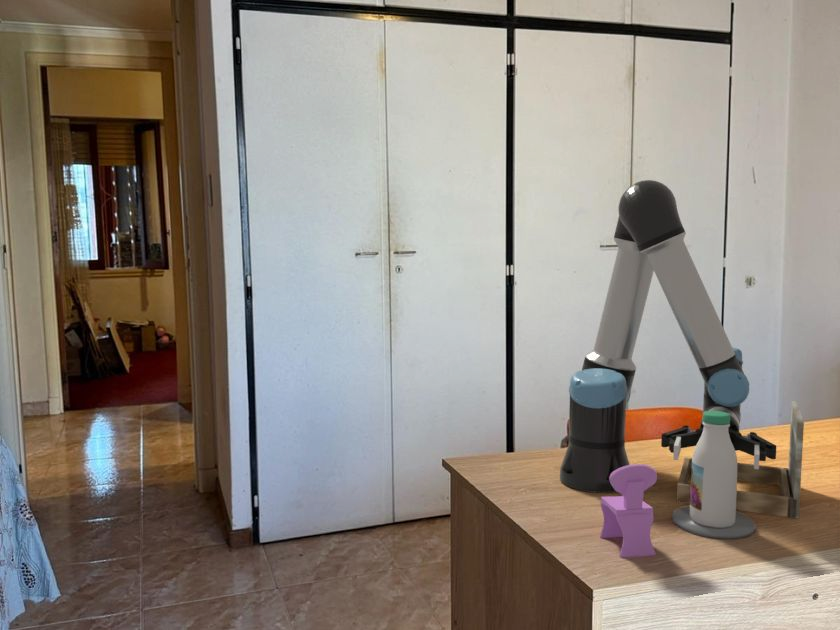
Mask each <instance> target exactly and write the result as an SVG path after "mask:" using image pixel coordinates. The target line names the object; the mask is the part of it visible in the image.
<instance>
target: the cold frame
mask: <svg viewBox="0 0 840 630" xmlns="http://www.w3.org/2000/svg"><path fill="white" fill-rule="evenodd" d="M790 410H791V411H790V412H791V413H790V427H789V428H790V430H789V432H790V433H789V446H788V447H789V450H788V467H777V466H770V465H760V464H759V469H754V463H753V464H752V463H743V462H737V481H744V482H752V483H759V482H760V483H761V484H767V483H768V484H769V485H775V484H777V485H778V486H779V490H780V495H776V494H767V493H759V492H752V491H744V490H737V495H736V511H741V510H742V512H750V513H757V514H762V515H763V514H765V515H771V516H780V517H785V518H786V517H787V518H794V519H800V518H799V517H800V505H801V504H800V503H801V502H800V501H801V499H800V498H801V484H802V483H801V481H802V466H803V464H802V463H803V444H804V429H805V428H804V427H805V423H804V420H803V415H802V413H801V409H800V405H799V402H798V401H797V400H791V409H790ZM682 463H683V464H682V467H681V471H680V474H679V478H678V481H677V486H676V487H677V488H676V502H677V503H682V504H683V503H684V504H690V491H691V483H690V484H688V481H689V476H690V475H691V469H692V457H690V456H685V457H684V461H683V462H682Z"/></svg>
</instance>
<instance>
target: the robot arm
mask: <svg viewBox="0 0 840 630" xmlns="http://www.w3.org/2000/svg"><path fill="white" fill-rule="evenodd" d="M678 211H679V210H678V206H677V200H676V197H675V194H674V193H673V192H672V191H671V189H670V188H669V187H668V186H667V185H665V184H664V183H662V182H660V181H657V180H652V179H647V180H639V181H637V182H635V183H633V184H632V185H630V186H629V187H627V189H626V190H625V191H624V192H623V194H622V195H621V197H620V200H619V203H618V218H617V222H616V227H615V231H614V235H613V240H614V242H615V244H616V245H617V247H618V249H617V253H616V257H615V261H614V264H613V269H612V273H611V277H610V282H609V285H608V289H607V290H608V291H607V293H606V297H605V301H604V306H603V309H602V310H603V311H602V314H601V319H600V322H599V327H598V331H597V334H596V339H595V344H594V348H593V350H591V351H590V352H587V353H586V354H585V356H584V361H583V363H582V364H583V365H582V368H581V370H578V371H576V372H574V373H573V375H571V377H570V381H569V382H570V383H569V386H568V392H569V411H568V412H569V418H568V419H569V420H568V421H569V422H568V425H569V426H568V445H567V449H566V451H565V454H564V457H563V460H562V463H561V464H560V468H559V480H560V481H561V483H562V484H563V485H565V486H567V487H569V488H572V489H575V490H579V491H584V492H591V493H616V492H617V491H615V489H614V488H613V487H612V485H611V483H610V480H609V477H610V474H611V473H612V472H613V471H615V470H616V469H618V468H621V467H624V466H627V465H631V464H630V461H629V458H628V455H627V451H626V447H625V446H626V445H625V444H626V441H625V440H626V416H627V415H626V412H627V407H628V403H629V401H630V398H631V394H632V387H633V383H634V379H635V374H636V371H637V366H636V364H635V363H634V361H633V359H632V358H633V353H634V350H635V348H636V347H635V346H636V343H637V338H638V334H639V330H640V327H641V323H642V319H643V314H644V312H645V311H644V310H645V308H646V307H645V306H646V302H647V299H648V296H649V291H650V287H651V283H652V279H653V275H654V274H655V276H656V278H657V280H658V283H659V285H660V288H661V290H662V291H663V293H664V296H665V297H666V299H667V302H668V305H669V306H670V307H669V308H671V311H672V313H673V316H674V317H675V319H676V322H677V324H678V326H679V329H680V330H681V332H682V335H683V337H684V340H685V341H686V343H687V346H688V348H689V350H690V352H691V355H692V356H693V359H694V361H695V364H696V366H697V368H698V370H699V372H700V375H701V376H702V379H703V383H704V384H703V385H704V386H703V400H702V401H703V402H702V403H703V404H702V405H703V408H702V413H703V412H705V411H721V412H726V413H728V414H730V427H729V428H728V431H729V436H730V439H731V442H732V444H733V447H734V449H735V452H736V451H739V452H743V453H745V454H747V455H750V456H752V457H753V465H754V469H759V465H760V462H766V461H767V459H769V460H770V459H771V460H776V459H777V445H776V444H774V443H773V442H770V441H768V440H767V439H765V438H763V437H761V436H759V435H758V434H757V433H756V432H754V431H750V432H749V433H747V435H742V433H741V432H740V423H741V416H742V415H741V405H742V404H743V403H744V402H745V401H746V400H747V398H748V397H749V393H750V381H749V379H748V378H747V375H746V374H745V373H744V370H743V365H744V361H743V352H742V350H741V349H740V348H737V347H733V346H732V343H731V342H730V340H729V337H728V335H727V333H726V330H725V329H724V326H723V324H722V322H721V320H720V318H719V316H718V313H717V311H716V309H715V307H714V304H713V302H712V300H711V298H710V296H709V294H708V293H709V292H707V289H706V288H705V284H704V283H703V280H702V279H701V276H700V274H699V271H698V270H697V268H696V265H695V263H694V260H693V259H692V256H691V254H690V252H689V250H688V248H687V245H686V244H685V241H684V240H685V239H684V238H685V236H686V230H685V228H684V226H683V223H682V221H681V218H680V215H679V212H678ZM702 423H703V417H702V419H701V422H700V425H699V428H697V429H696V430H693V429H692V427H690V426H689V425H683V426H681V427H679V428H677V429H674V430H670V431H667V432H663V433H661V441H660V443H661V447H662V448H668V450H669V451H670V453H673V457H672V458H673V460H675V461H679V457H680V453H681V450H682V449H685V448H690V447H695V446H696V445H697V443H698V441H699V439H700V437H701V435H702V432H703V428H704V425H703V424H702ZM617 493H618V492H617Z"/></svg>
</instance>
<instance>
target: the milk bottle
mask: <svg viewBox="0 0 840 630" xmlns="http://www.w3.org/2000/svg"><path fill="white" fill-rule="evenodd" d="M702 418H703V423H702V424H703V425H704V428H703V432H702V435H701V437H700V439H699V441H698V443H697V445H696V446H694V448H693V449H694V450H693V453H692V457H691V458H692V469H691V474H690V485H691V491H690V503H689V506H690V517H691V519H692V521H694V522H695V523H697V524H700V525H703V526H707V527H713V528H726V527H731V526H733V524H734V523H735V516H736V511H737V510H736V495H737V491H738V489H737V488H738V480H737V463H738V456H737V452H736V451H735V449H734V447H733V444H732V442H731V439H730V436H729V431H728V428H729V427H730V414H728V413H726V412H721V411H705V412H703V411H702Z"/></svg>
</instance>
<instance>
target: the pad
mask: <svg viewBox="0 0 840 630" xmlns="http://www.w3.org/2000/svg"><path fill="white" fill-rule="evenodd" d="M671 520H672V522H673V523H674V525H675V526H677V527H678V528H680V529H681V530H684V531H685V532H688V533H691V534H693V535H697V536H700V537H705V538H711V539H716V540H717V539H718V540H719V539H720V540H737V539H744V538H747V537H750V536H752V535H753V534H754V533H755V531H756V523H755V521H754V520H753V519H752V518H751V517H750V516H747V515H745V514H744V513H741V512H739V511H738V510H736V516H735V523H734V524H733V526H731V527H726V528H713V527H707V526H703V525H700V524H697V523H695V522H694V521H692V519H691V517H690V505H685V506H681V507H679V508H677V509H675V510H674V511H673V512H672V519H671Z"/></svg>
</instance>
